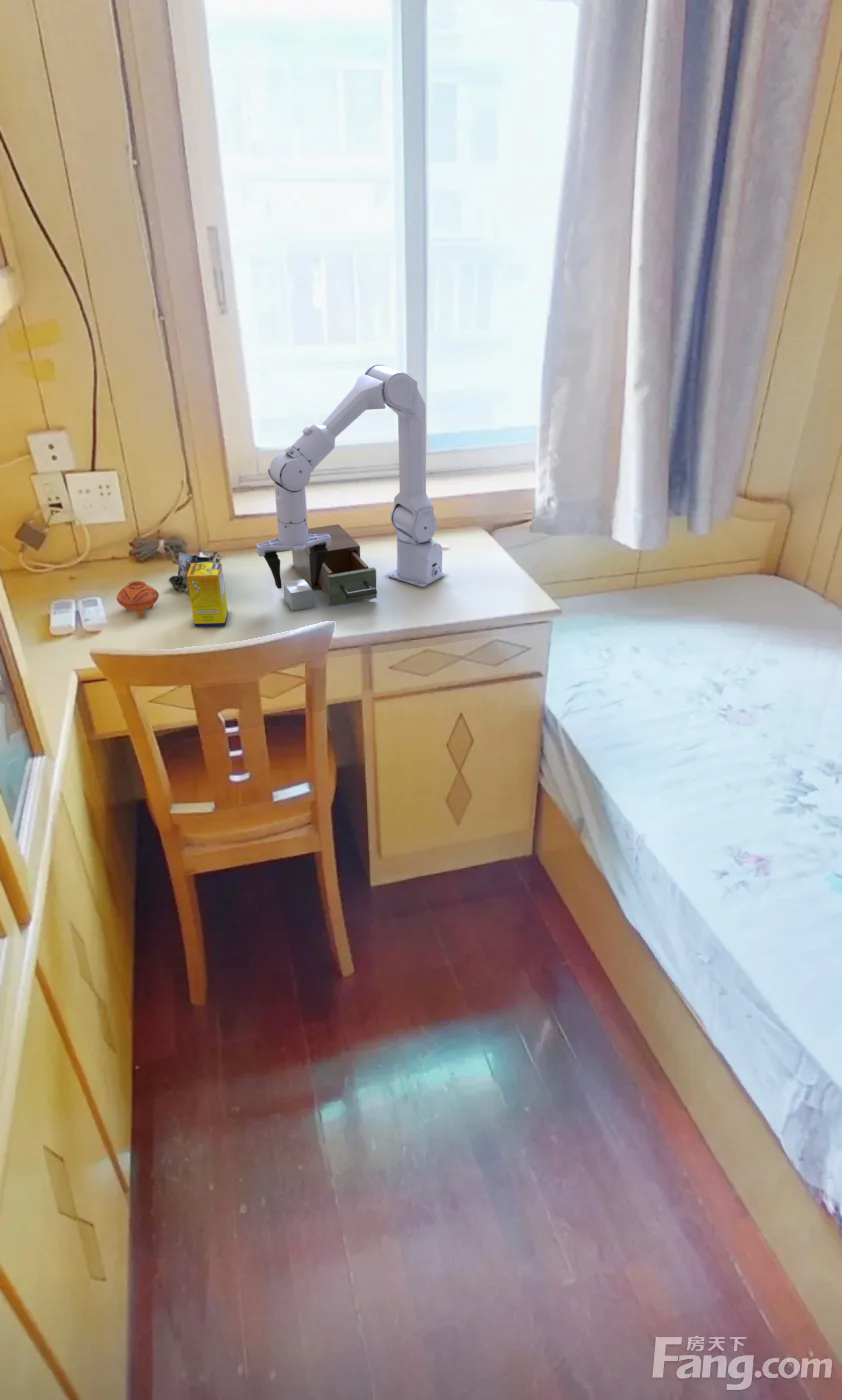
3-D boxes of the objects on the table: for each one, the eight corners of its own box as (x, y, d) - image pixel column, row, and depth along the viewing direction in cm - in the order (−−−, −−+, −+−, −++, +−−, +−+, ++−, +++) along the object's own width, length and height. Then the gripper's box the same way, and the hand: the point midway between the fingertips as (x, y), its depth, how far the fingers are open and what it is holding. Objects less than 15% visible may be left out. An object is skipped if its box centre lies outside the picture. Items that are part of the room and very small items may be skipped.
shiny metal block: (313, 607, 168) (312, 589, 166) (292, 611, 167) (290, 593, 164) (305, 596, 172) (304, 578, 170) (284, 600, 171) (282, 582, 169)
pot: (110, 619, 162) (107, 584, 160) (130, 610, 169) (127, 577, 167) (149, 621, 161) (146, 586, 159) (167, 612, 168) (164, 579, 166)
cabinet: (361, 581, 179) (360, 545, 175) (311, 589, 175) (309, 553, 171) (340, 558, 189) (338, 524, 185) (293, 565, 186) (290, 531, 181)
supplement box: (198, 613, 165) (190, 562, 159) (228, 612, 166) (222, 561, 160) (193, 627, 160) (185, 575, 154) (225, 626, 161) (218, 574, 155)
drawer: (386, 608, 166) (386, 579, 163) (339, 617, 162) (338, 588, 159) (355, 574, 180) (354, 547, 176) (311, 582, 176) (309, 554, 173)
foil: (236, 557, 181) (218, 543, 166) (232, 606, 181) (214, 597, 166) (182, 553, 181) (160, 539, 166) (179, 602, 181) (156, 593, 166)
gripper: (260, 530, 154) (267, 597, 161) (334, 520, 159) (337, 585, 166) (251, 518, 159) (257, 583, 167) (323, 508, 165) (326, 572, 172)
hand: (297, 583), depth 167 cm, fingers open, 7 cm apart
